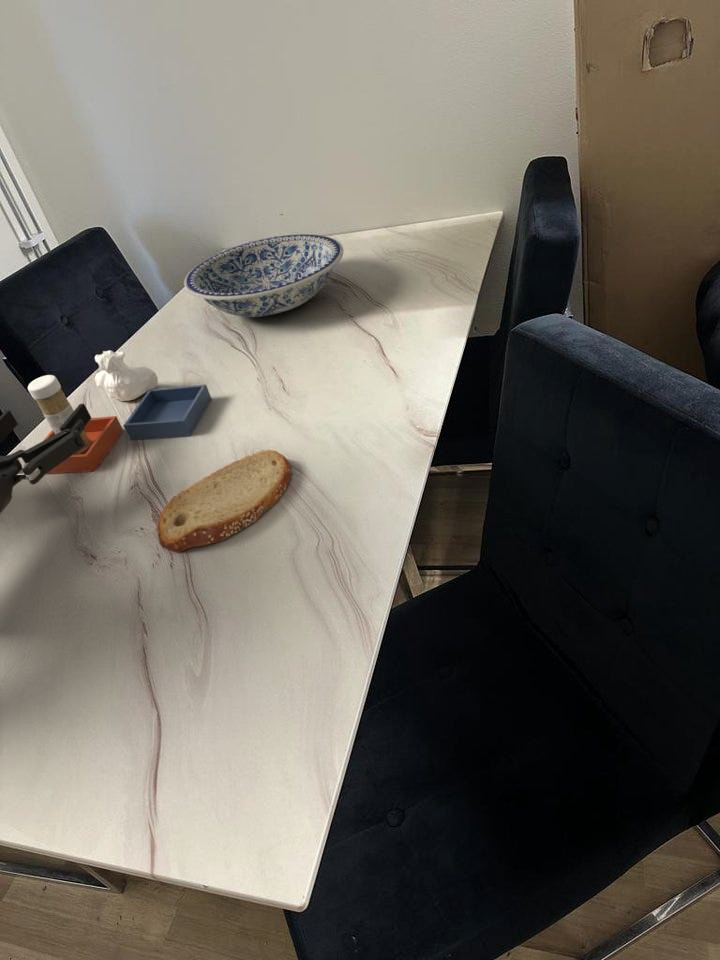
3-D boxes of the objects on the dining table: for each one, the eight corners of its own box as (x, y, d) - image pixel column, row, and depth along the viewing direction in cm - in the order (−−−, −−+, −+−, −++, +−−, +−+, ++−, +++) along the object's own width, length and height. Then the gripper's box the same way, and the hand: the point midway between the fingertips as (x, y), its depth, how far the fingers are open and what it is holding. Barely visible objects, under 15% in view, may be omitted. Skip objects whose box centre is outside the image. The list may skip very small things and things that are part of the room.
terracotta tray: (35, 474, 110) (26, 459, 108) (68, 434, 119) (60, 420, 117) (95, 471, 108) (86, 456, 106) (123, 430, 116) (116, 415, 114)
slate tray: (130, 440, 113) (123, 425, 111) (155, 403, 121) (149, 389, 119) (190, 436, 110) (184, 421, 108) (211, 399, 119) (206, 384, 117)
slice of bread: (294, 455, 100) (288, 435, 98) (284, 538, 86) (276, 517, 84) (181, 473, 102) (172, 454, 100) (153, 557, 88) (142, 537, 86)
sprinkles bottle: (82, 438, 115) (45, 371, 107) (97, 444, 113) (61, 376, 104) (60, 453, 113) (21, 386, 104) (75, 460, 110) (36, 391, 102)
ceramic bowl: (383, 283, 144) (375, 237, 138) (266, 357, 127) (251, 309, 121) (282, 263, 165) (271, 223, 159) (170, 324, 149) (153, 282, 142)
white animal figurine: (108, 409, 128) (71, 389, 117) (110, 372, 130) (74, 349, 119) (165, 403, 125) (132, 382, 115) (166, 365, 127) (134, 341, 116)
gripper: (-88, 526, 95) (-6, 438, 111) (63, 519, 89) (127, 427, 105) (-122, 487, 90) (-31, 400, 106) (36, 477, 85) (107, 387, 101)
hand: (48, 414), depth 106 cm, fingers open, 13 cm apart
